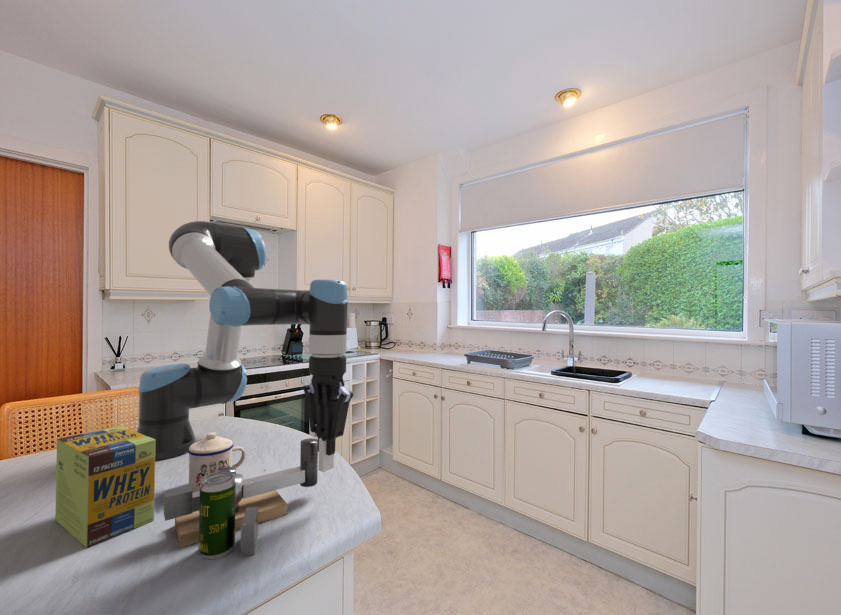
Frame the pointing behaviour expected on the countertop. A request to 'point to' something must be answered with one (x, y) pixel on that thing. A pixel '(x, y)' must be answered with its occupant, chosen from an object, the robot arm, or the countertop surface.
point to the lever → (250, 483)
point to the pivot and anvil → (247, 524)
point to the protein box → (104, 483)
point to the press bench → (267, 509)
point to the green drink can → (217, 515)
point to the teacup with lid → (210, 458)
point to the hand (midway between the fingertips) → (326, 468)
